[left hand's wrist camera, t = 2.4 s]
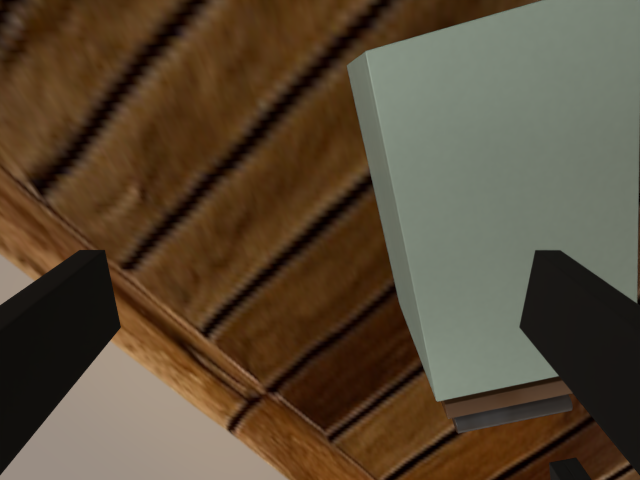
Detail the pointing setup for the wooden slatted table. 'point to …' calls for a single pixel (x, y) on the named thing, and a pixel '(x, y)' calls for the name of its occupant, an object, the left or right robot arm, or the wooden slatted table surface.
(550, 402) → the drawer
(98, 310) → the left robot arm
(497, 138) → the cabinet
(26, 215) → the wooden slatted table surface
